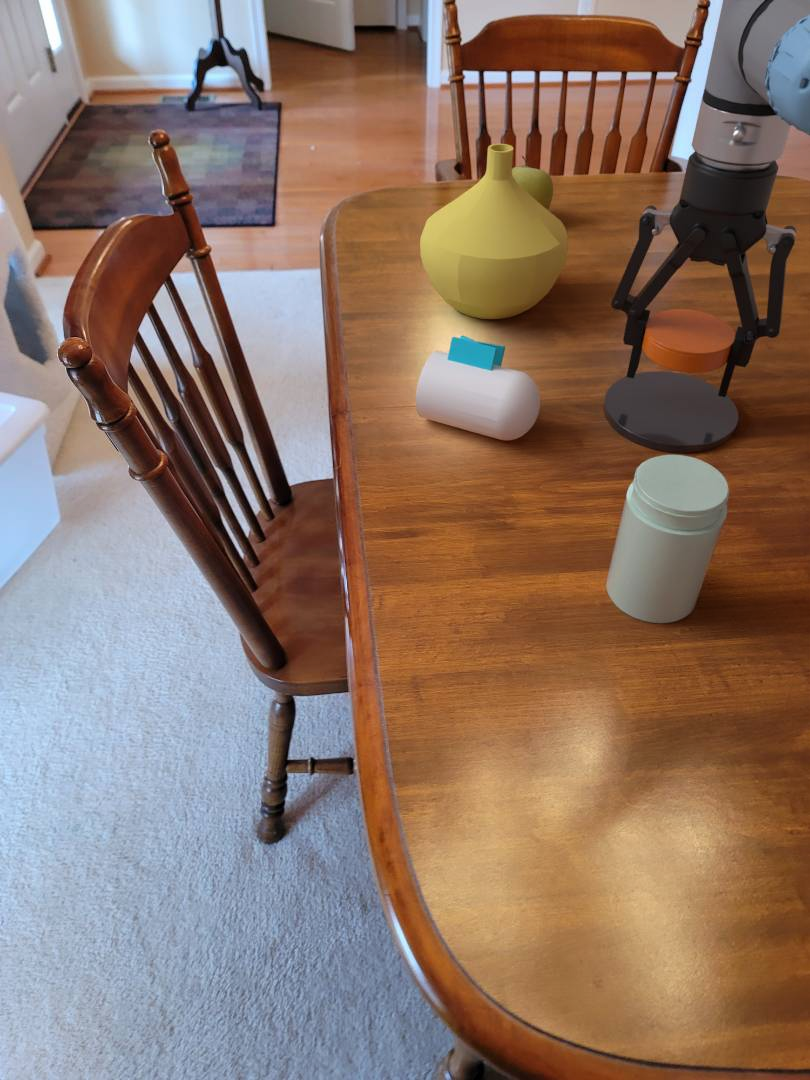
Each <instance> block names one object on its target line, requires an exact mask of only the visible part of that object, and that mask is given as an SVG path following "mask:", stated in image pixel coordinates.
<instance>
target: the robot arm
mask: <svg viewBox="0 0 810 1080" xmlns="http://www.w3.org/2000/svg"><path fill="white" fill-rule="evenodd" d="M717 22H718V23H717V28H716V32H715V36H714V42H713V47H712V50H711V51H712V52H711V56H710V60H709V65H708V70H707V74H706V80H705V84H704V89H703V93H702V97H701V101H700V106H699V109H698V114H697V119H696V123H695V128H694V132H693V138H692V142H691V147H692V149H693V152H692V153H691V155H689V157H688V159H687V163H686V164H687V165H686V169H685V173H684V177H683V182H682V187H681V191H680V195H679V199H678V202H677V204H676V205H675V206H674V207H673V209H657V207H656V206H655V205H648V206H646V207H645V209H644V210H643V212H642V215H641V216H640V218H639V222H638V239H637V241H636V244H635V247H634V248H633V251H632V253H631V256H630V258H629V261H628V263H627V265H626V268H625V270H624V272H623V274H622V277H621V279H620V282H619V284H618V286H617V289H616V291H615V292H614V293H615V294H614V296H613V297H612V300H611V303H610V305H611V307H612V309H614V310H615V311H619V310H620V311H621V312H624V314H625V315H626V323H625V329H624V332H623V333H624V334H623V337H622V340H623V341H622V342H623V345H628V346H632V349H631V353H630V359H629V363H628V367H627V372H626V376H627V377H629V378H634V376H635V374H637V372H638V368H639V365H640V360H641V356H642V352H643V350H642V340H643V335H644V330H645V326H646V323H647V321H648V319H649V318H650V316H651V315H650V314H651V310H649V309H646V308H648V306H649V305H650V304H651V303H652V302H653V300H654V299H655V298H656V297H657V296H658V295H659V293H660V292H661V291H662V289H664V287H665V286H666V284H667V283H668V282H669V281H670V279H672V277H673V276H674V275H675V274H676V272H677V271H678V270H679V269H681V268H682V266H683V265H684V264H685V263H686V261H687V260H688V259H690V260H689V261H690V262H694V263H695V262H696V263H703V262H708V263H711V264H713V265H716V266H721V267H725V265H726V267H727V272H728V276H729V278H730V280H731V284H732V289H733V294H734V297H735V301H736V306H737V310H738V311H737V312H738V316H739V319H740V324H741V326H737V329H736V331H735V339H734V343H733V346H732V350H731V353H730V356H729V360H728V362H727V363H726V364H725V367H724V368H725V369H724V372H723V375H722V379H721V382H720V387H719V389H720V390H719V394H718V396H721V397H726V395H727V394H728V390H729V387H730V384H731V381H732V378H733V375H734V371H735V368H736V367H742V368H746V367H747V366H748V365H749V363H750V361H751V358H752V353H753V350H754V347H755V344H756V342H757V341H758V339H761V338H762V337H763V338H765V337H768V338H770V339H774V338H777V337H778V336H779V334H780V331H781V324H782V318H783V317H782V316H783V307H784V293H785V284H786V283H785V282H786V272H787V271H786V270H787V260H788V258H789V255H790V254H791V252H792V250H793V247H794V245H795V241H796V237H797V235H796V234H797V228H796V227H795V226H793V225H786V226H785V227H779V226H776V225H773V224H769V223H768V218H767V209H768V205H769V202H770V199H771V195H772V193H773V192H772V191H773V188H774V185H775V182H776V178H777V175H778V172H779V164H778V163H777V160H779V159H780V158H782V156H783V155H784V151H785V148H786V144H787V141H788V138H789V133H790V131H791V128H792V126H793V127H794V128H795V129H796V130H797V131H800V132H803V133H804V134H806V135H808V136H810V0H722V3H721V8H720V14H719V19H718V21H717ZM669 225H670V228H671V229H672V232H673V234H674V236H675V238H676V241H677V243H676V244H675V246H674V247H673V249H672V251H671V252H670V253H669V254H668V256H667V257H666V258H665V259H664V261H663V262H662V263H661V264H660V266H659V267H658V268H657V270H656V271H655V272H654V273H653V274H652V276H651V277H650V278H649V280H648V281H647V282H646V284H644V286H643V287H642V289H640V291H639V292H638V294H637V295H636V296H634V295H632V294H630V292H631V290H632V287H633V286H634V283H635V280H636V279H637V276H638V274H639V271H640V269H641V268H642V265H643V263H644V261H645V258H646V256H647V254H648V251H649V249H650V247H651V244H652V243H653V239H654V237H655V236H659V235H661V234H662V232H663V230H664V227H666V226H669ZM762 239H763V240H764V241H765V242H766V251H767V252H768V253H769V254H771V255H772V257H771V261H770V269H769V283H768V294H767V295H768V296H767V297H768V298H767V306H766V307H767V309H766V317H765V318H760V315H759V311H758V306H757V302H756V298H755V293H754V288H753V283H752V280H751V274H750V269H749V265H748V256H747V255H748V254H747V251H749V250H750V249H751V248H752V247H754V245H756V244H757V243H758V242H760V240H762Z"/></svg>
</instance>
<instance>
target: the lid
mask: <svg viewBox="0 0 810 1080" xmlns="http://www.w3.org/2000/svg"><path fill="white" fill-rule="evenodd" d="M735 335H736V331H735V330H734V328H733V326H731V324H729V323H728V322H727V321H726V320H724V319H722V318H720V317H718V316H716V315H714V314H711V313H709V312H705V311H701V310H697V309H689V308H673V309H666V310H662V311H659V312H656V313H654V314H652V315H650V316H649V319H648V321H647V323H646V326H645V330H644V335H643V340H642V352H643V354H644V356H646V357H647V358H648V359H649V360H651V361H652V362H653V363H655V364H657V365H658V366H661V367H663V368H665V369H669V370H671V371H677V372H681V373H690V374H691V373H692V374H694V373H695V374H696V373H697V374H699V373H708V372H709V373H710V372H713V371H716V370H719V369H721V368H722V367H724V366H726V365H727V362H728V360H729V356H730V353H731V350H732V346H733V343H734V339H735Z"/></svg>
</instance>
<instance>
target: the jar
mask: <svg viewBox="0 0 810 1080" xmlns="http://www.w3.org/2000/svg"><path fill="white" fill-rule="evenodd" d="M729 497H730V490H729V484H728V481H727V479H726V477H725V476H724V475H723V474H722V472H721V471H720V470H718V469H717V468H716V467H714V466H713V465H712V464H710V463H708V462H706V461H704V460H701V459H699V458H696V457H693V456H689V455H684V454H662V455H658V456H657V455H656V456H653V457H651V458H648V459H646V460H645V461H643V462H641V464H639V465H638V467H636V469H635V473H634V476H633V480H632V482H631V483H630V485H628V488H627V491H626V495H625V498H624V502H623V507H622V512H621V516H620V520H619V525H618V529H617V532H616V537H615V540H614V541H615V542H614V546H613V549H612V554H611V558H610V563H609V567H608V572H607V576H606V580H605V588H606V591H607V592H606V593H607V594H608V598H609V599H610V600H611V602H612V603H613V604H614V605H615V606H616V607H617V608H618V609H619V610H620V611H622V612H623V613H625V614H626V615H627V616H629V617H632V618H634V619H637V620H640V621H642V622H647V623H653V624H669V623H674V622H677V621H680V620H682V619H684V618H686V617H687V616H689V615H690V614H691V613H692V611H693V610H694V609H695V606H696V604H697V602H698V599H699V596H700V593H701V590H702V587H703V584H704V581H705V579H706V576H707V573H708V570H709V567H710V565H711V561H712V559H713V556H714V553H715V550H716V547H717V544H718V542H719V540H720V539H719V538H720V536H721V533H722V530H723V528H724V525H725V521H726V518H727V516H728V505H727V503H728V501H729Z"/></svg>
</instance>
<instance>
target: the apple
mask: <svg viewBox="0 0 810 1080" xmlns="http://www.w3.org/2000/svg"><path fill="white" fill-rule="evenodd" d="M521 158H522V159H523V160H524V162H525V164H526V165H517V166H514V167H512V176H513V177H514V179H515V180H516V182H517V183H518V185H519V186H521V187H522V188H523V189H524V190H525V191H526V192H527V193H528V194H530V195H531V196H532V197H533V198H534V199H535V200H536V201H537V202H538V203H540V204H541V205H542V206H543V207H544V208H546V209H547V210H548V211H549V210H550V207H551V203H552V200H553V195H554V185H553V180H552V177H551V176H550V174H549V173H548V172H546V171H545V170H542V169H539V168H535V167H534V168H533V167H530V166H529V164H528V162H527V160H526V158H525V157H524V155H522V156H521Z"/></svg>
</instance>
